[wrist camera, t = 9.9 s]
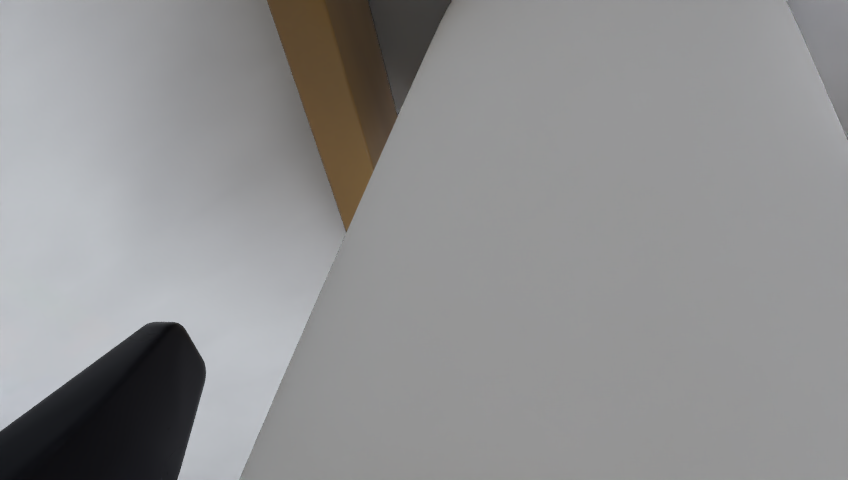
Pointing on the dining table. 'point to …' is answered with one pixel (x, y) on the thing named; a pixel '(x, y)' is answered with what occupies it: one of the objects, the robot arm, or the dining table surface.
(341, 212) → the brown wooden bent bar
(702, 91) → the can
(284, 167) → the dining table surface
